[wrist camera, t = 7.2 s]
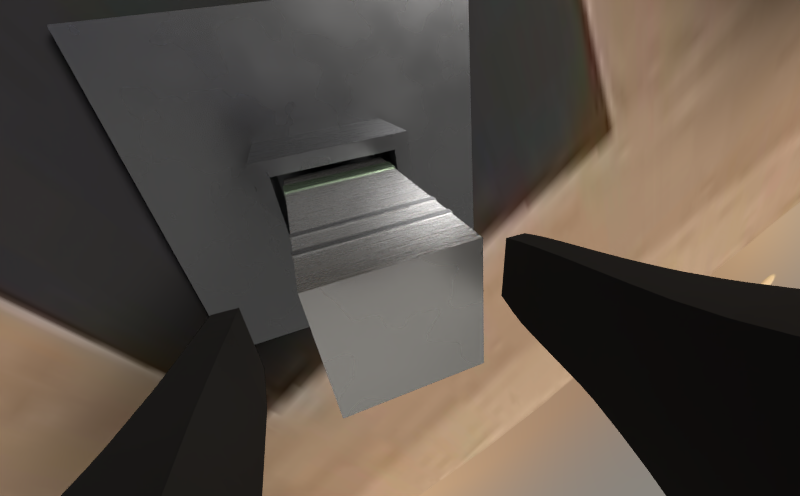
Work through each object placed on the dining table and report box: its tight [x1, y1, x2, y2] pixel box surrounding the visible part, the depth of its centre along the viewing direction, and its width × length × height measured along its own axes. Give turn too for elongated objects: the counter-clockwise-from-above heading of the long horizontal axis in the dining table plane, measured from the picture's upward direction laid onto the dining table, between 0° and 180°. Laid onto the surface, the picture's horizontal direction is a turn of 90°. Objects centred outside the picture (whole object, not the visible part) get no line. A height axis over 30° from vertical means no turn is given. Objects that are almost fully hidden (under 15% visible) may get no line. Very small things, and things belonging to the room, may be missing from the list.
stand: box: [47, 0, 474, 345], centre depth 16 cm, size 16×16×5 cm
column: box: [283, 157, 484, 418], centre depth 11 cm, size 4×4×8 cm
